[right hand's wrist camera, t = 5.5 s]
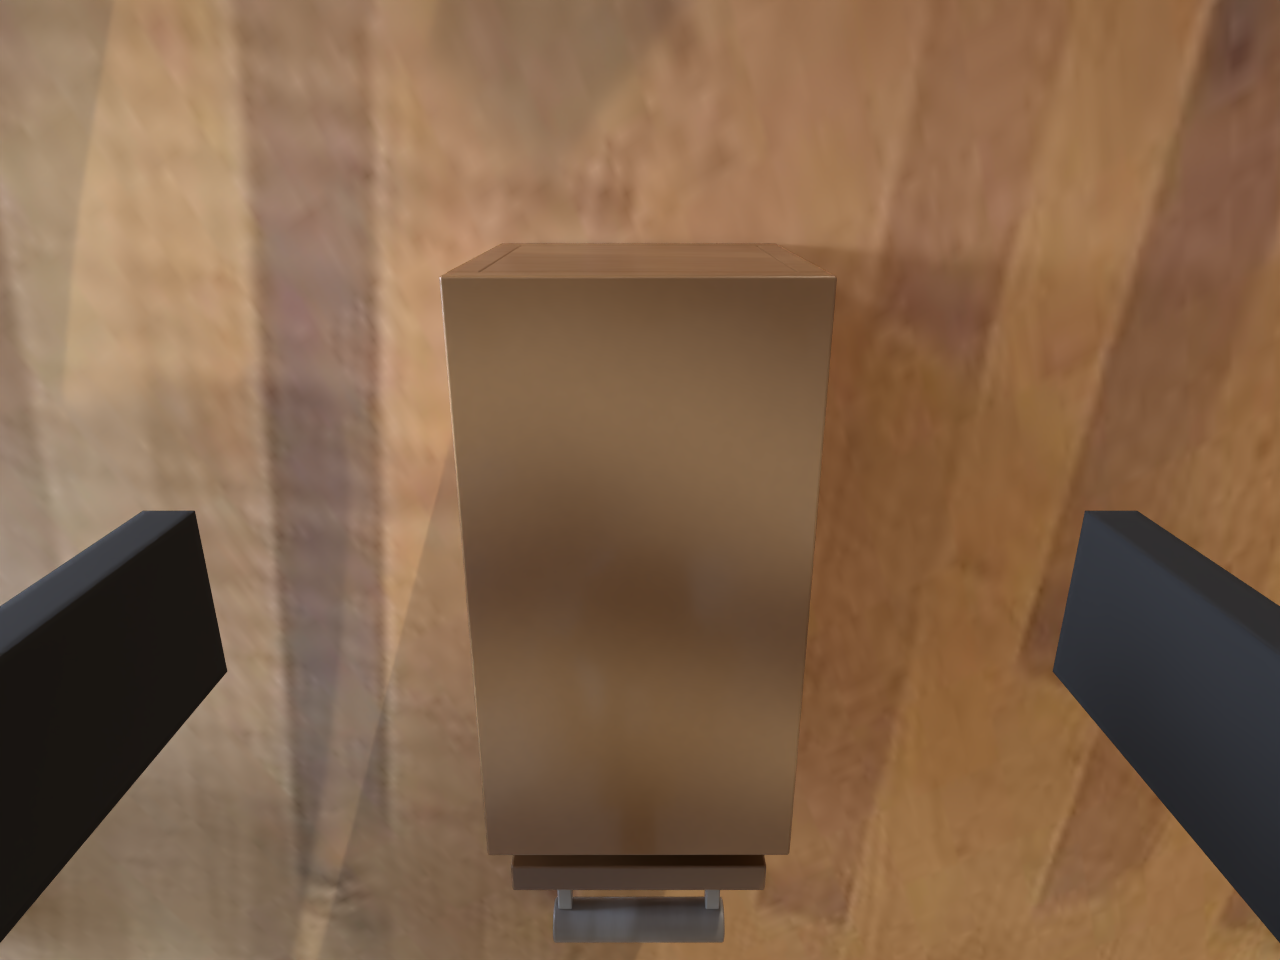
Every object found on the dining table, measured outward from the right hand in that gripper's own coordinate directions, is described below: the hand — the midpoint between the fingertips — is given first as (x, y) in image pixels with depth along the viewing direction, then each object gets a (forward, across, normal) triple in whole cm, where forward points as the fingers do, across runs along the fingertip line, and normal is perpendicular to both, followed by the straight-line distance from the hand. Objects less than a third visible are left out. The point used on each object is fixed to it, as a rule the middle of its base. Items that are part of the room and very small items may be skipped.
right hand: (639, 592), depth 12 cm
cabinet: (+22, 0, -7) cm, 23 cm away
